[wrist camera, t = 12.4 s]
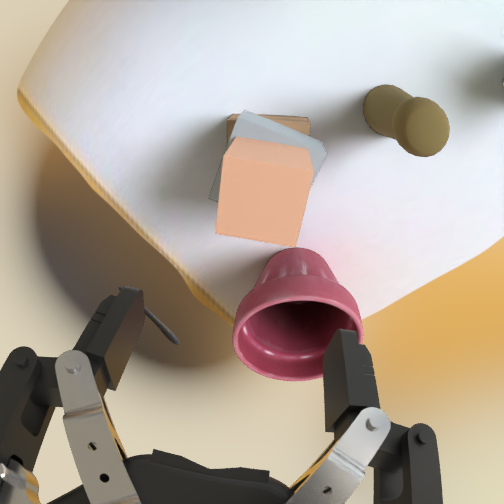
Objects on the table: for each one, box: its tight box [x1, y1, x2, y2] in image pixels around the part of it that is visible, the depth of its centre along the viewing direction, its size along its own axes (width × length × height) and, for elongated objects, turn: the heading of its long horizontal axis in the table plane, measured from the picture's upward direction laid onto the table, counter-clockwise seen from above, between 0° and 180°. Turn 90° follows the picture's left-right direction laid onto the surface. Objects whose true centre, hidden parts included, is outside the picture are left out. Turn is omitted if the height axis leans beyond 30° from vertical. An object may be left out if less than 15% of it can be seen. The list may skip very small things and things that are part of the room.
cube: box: [215, 136, 314, 247], centre depth 24 cm, size 6×6×6 cm
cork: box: [363, 85, 450, 157], centre depth 25 cm, size 6×6×11 cm
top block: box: [208, 110, 327, 202], centre depth 29 cm, size 8×8×4 cm
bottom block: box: [227, 114, 311, 145], centre depth 32 cm, size 8×8×4 cm
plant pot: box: [232, 248, 363, 381], centre depth 38 cm, size 14×14×13 cm
